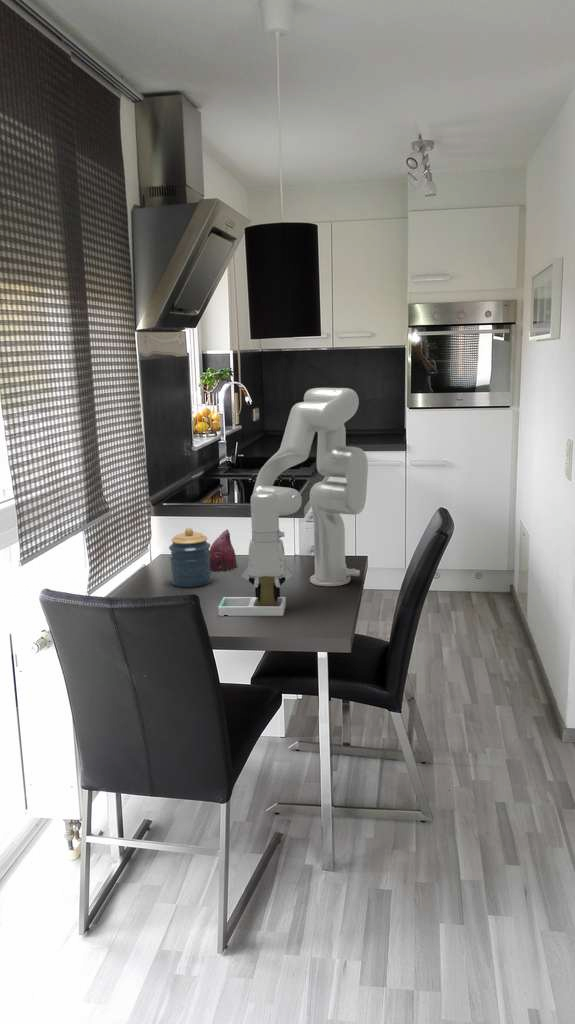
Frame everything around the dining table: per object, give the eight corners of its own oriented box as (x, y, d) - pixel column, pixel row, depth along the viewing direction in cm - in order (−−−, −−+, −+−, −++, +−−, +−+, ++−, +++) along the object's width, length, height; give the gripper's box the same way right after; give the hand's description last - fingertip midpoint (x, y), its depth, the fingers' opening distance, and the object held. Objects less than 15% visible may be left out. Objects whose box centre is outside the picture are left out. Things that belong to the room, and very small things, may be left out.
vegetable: (241, 574, 281) (251, 533, 277) (223, 578, 272) (234, 535, 268) (217, 563, 286) (227, 523, 282) (198, 567, 277) (209, 525, 273)
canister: (192, 574, 271) (189, 521, 268) (220, 580, 263) (218, 526, 260) (162, 583, 262) (159, 529, 258) (191, 590, 253) (187, 534, 250)
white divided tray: (285, 605, 236) (285, 596, 236) (283, 615, 227) (282, 607, 227) (223, 605, 238) (223, 597, 237) (218, 615, 229) (218, 607, 228)
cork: (276, 614, 229) (275, 576, 226) (255, 613, 230) (253, 575, 228) (281, 607, 234) (279, 570, 232) (260, 606, 236) (259, 569, 233)
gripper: (296, 532, 231) (298, 595, 234) (237, 533, 232) (240, 595, 236) (294, 539, 223) (296, 603, 227) (233, 539, 225) (236, 604, 229)
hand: (267, 599), depth 231 cm, fingers closed on cork, 4 cm apart
